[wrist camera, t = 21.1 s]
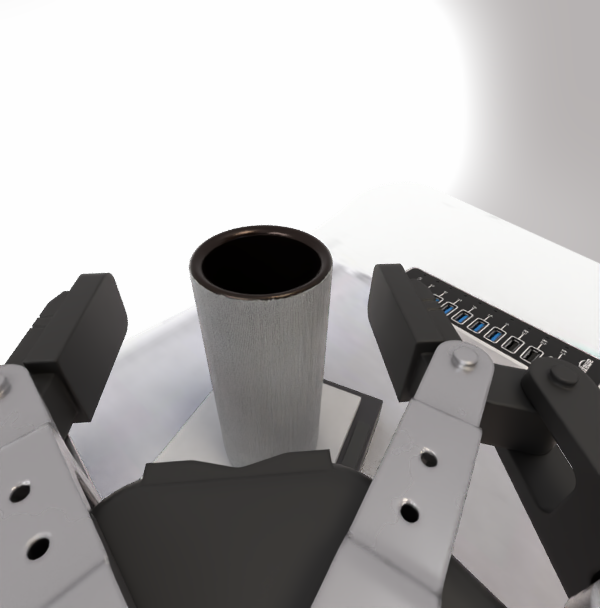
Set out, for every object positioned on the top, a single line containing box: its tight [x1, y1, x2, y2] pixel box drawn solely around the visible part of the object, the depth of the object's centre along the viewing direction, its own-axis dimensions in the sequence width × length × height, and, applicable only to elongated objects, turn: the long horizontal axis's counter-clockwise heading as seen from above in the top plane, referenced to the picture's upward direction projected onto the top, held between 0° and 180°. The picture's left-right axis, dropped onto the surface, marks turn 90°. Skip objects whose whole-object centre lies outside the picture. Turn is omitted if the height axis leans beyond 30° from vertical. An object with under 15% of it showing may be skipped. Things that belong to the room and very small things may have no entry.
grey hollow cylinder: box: [189, 225, 333, 467], centre depth 15 cm, size 4×4×10 cm
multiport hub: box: [405, 267, 600, 388], centre depth 26 cm, size 4×14×2 cm, turn 40°
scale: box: [139, 379, 383, 480], centre depth 19 cm, size 10×9×2 cm
